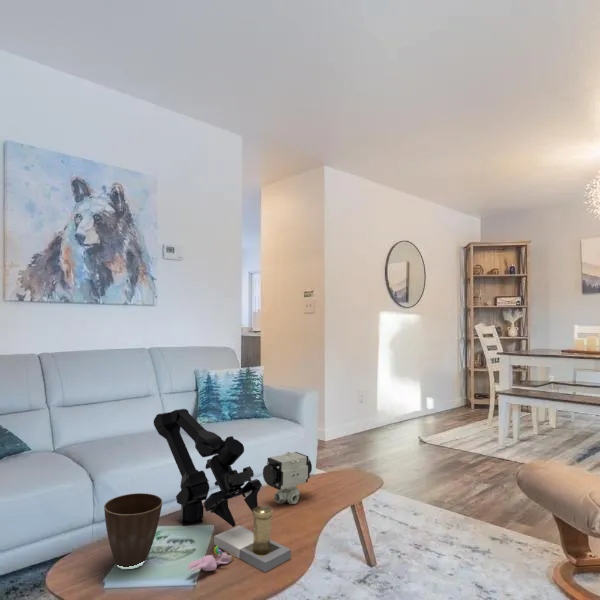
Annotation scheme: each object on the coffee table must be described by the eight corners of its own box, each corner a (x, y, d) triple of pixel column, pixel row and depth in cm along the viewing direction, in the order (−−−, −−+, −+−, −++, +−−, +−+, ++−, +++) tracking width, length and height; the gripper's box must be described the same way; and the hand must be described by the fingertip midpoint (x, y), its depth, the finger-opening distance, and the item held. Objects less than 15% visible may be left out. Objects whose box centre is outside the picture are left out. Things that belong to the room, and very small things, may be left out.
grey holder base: (213, 544, 139) (214, 535, 139) (239, 533, 147) (239, 525, 147) (265, 572, 125) (265, 562, 125) (290, 558, 133) (290, 549, 133)
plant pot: (121, 546, 136) (123, 490, 137) (169, 552, 134) (171, 495, 134) (89, 574, 122) (92, 511, 122) (143, 581, 119) (145, 517, 120)
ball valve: (275, 511, 164) (277, 459, 165) (261, 503, 171) (262, 454, 171) (313, 499, 176) (315, 451, 176) (299, 492, 182) (300, 446, 183)
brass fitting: (251, 561, 130) (252, 514, 131) (251, 551, 136) (252, 505, 136) (271, 561, 131) (272, 513, 131) (271, 551, 136) (272, 505, 137)
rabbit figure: (222, 560, 133) (180, 573, 122) (225, 538, 134) (184, 548, 123) (238, 568, 130) (196, 582, 118) (241, 544, 131) (200, 556, 119)
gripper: (211, 465, 135) (235, 517, 127) (259, 452, 149) (283, 498, 141) (194, 486, 140) (216, 536, 132) (241, 471, 154) (263, 516, 146)
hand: (246, 521), depth 138 cm, fingers open, 9 cm apart
